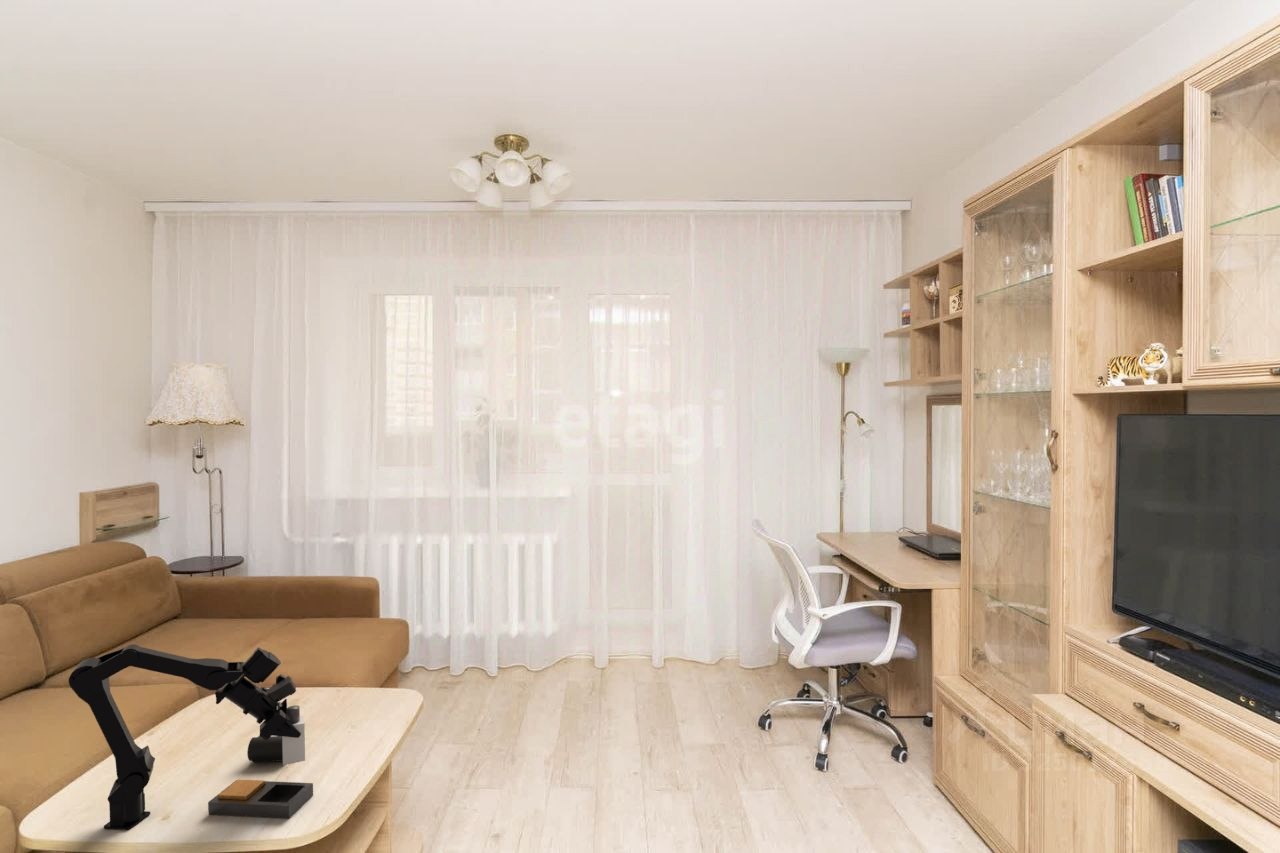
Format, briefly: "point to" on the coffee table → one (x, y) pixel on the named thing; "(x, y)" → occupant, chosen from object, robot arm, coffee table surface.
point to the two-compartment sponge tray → (261, 799)
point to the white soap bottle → (291, 745)
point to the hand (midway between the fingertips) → (299, 731)
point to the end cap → (265, 749)
